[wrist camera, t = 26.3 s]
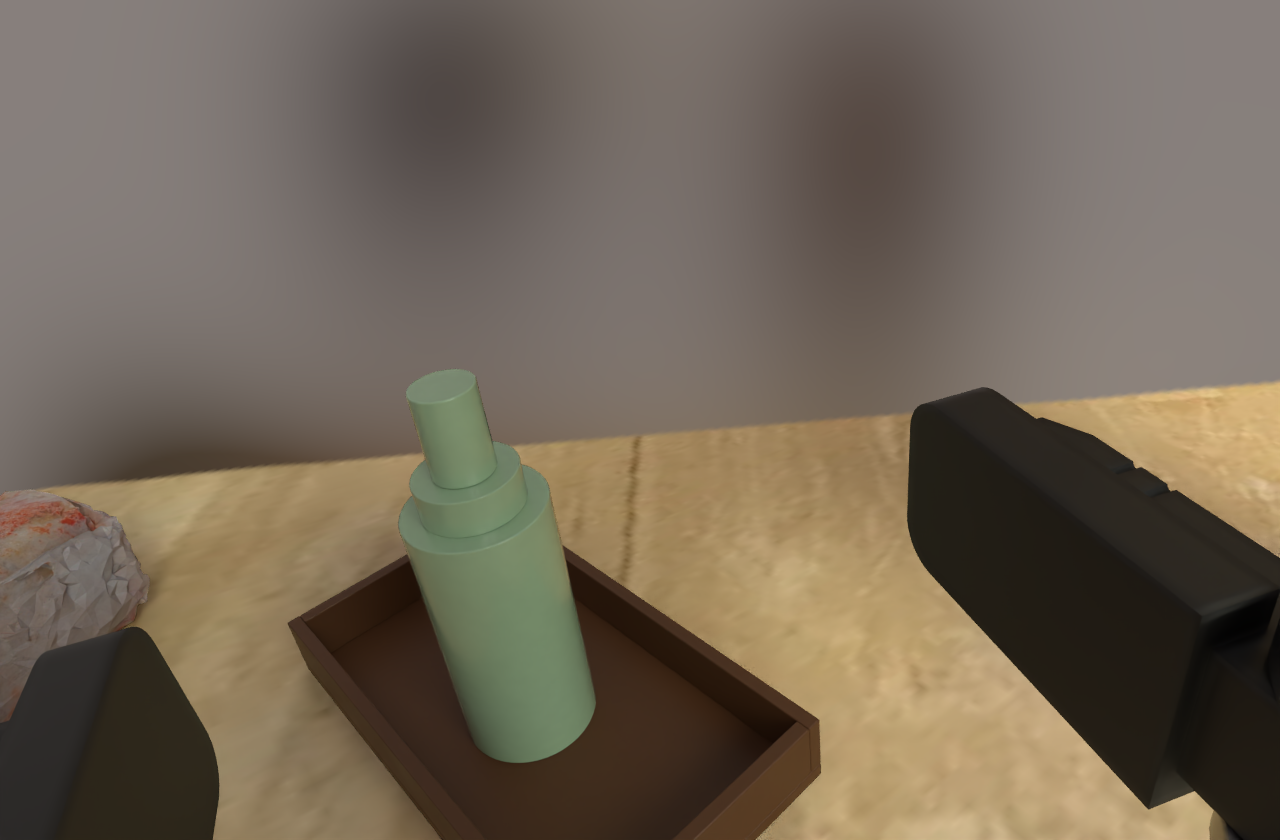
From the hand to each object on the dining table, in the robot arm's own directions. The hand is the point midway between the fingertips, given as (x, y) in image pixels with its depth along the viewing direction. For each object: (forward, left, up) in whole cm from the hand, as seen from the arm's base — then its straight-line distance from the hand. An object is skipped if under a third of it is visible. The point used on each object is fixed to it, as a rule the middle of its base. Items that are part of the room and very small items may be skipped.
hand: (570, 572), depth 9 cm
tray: (-7, -19, -24) cm, 31 cm away
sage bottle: (-7, -18, -23) cm, 30 cm away
